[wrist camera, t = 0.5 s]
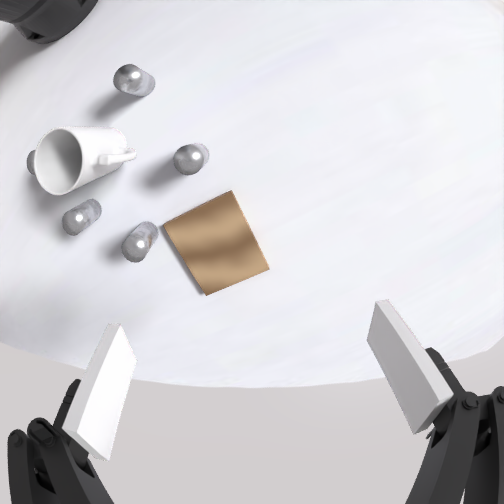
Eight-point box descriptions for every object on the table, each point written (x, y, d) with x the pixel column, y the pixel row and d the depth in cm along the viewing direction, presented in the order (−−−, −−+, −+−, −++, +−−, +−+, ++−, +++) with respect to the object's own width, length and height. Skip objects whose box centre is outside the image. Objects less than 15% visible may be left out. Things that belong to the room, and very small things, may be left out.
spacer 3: (128, 82, 27) (109, 74, 22) (149, 69, 27) (133, 59, 21) (137, 101, 28) (119, 96, 23) (159, 88, 28) (144, 80, 23)
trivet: (164, 223, 36) (163, 225, 35) (231, 190, 34) (231, 191, 33) (206, 292, 40) (206, 295, 39) (268, 265, 39) (269, 269, 38)
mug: (85, 173, 32) (33, 193, 21) (89, 125, 29) (35, 129, 18) (150, 177, 33) (112, 200, 22) (155, 126, 30) (117, 125, 19)
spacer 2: (80, 205, 33) (58, 218, 28) (94, 194, 33) (73, 206, 28) (90, 224, 35) (70, 239, 29) (105, 213, 34) (85, 228, 29)
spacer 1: (48, 153, 30) (23, 159, 24) (61, 141, 29) (37, 145, 24) (56, 170, 31) (32, 179, 25) (69, 158, 30) (45, 165, 25)
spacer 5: (179, 150, 32) (168, 154, 26) (202, 138, 31) (195, 139, 26) (190, 172, 33) (182, 180, 28) (213, 160, 33) (208, 166, 27)
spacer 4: (132, 227, 36) (116, 244, 30) (150, 217, 35) (136, 233, 30) (144, 246, 37) (130, 266, 31) (162, 237, 36) (150, 256, 31)
